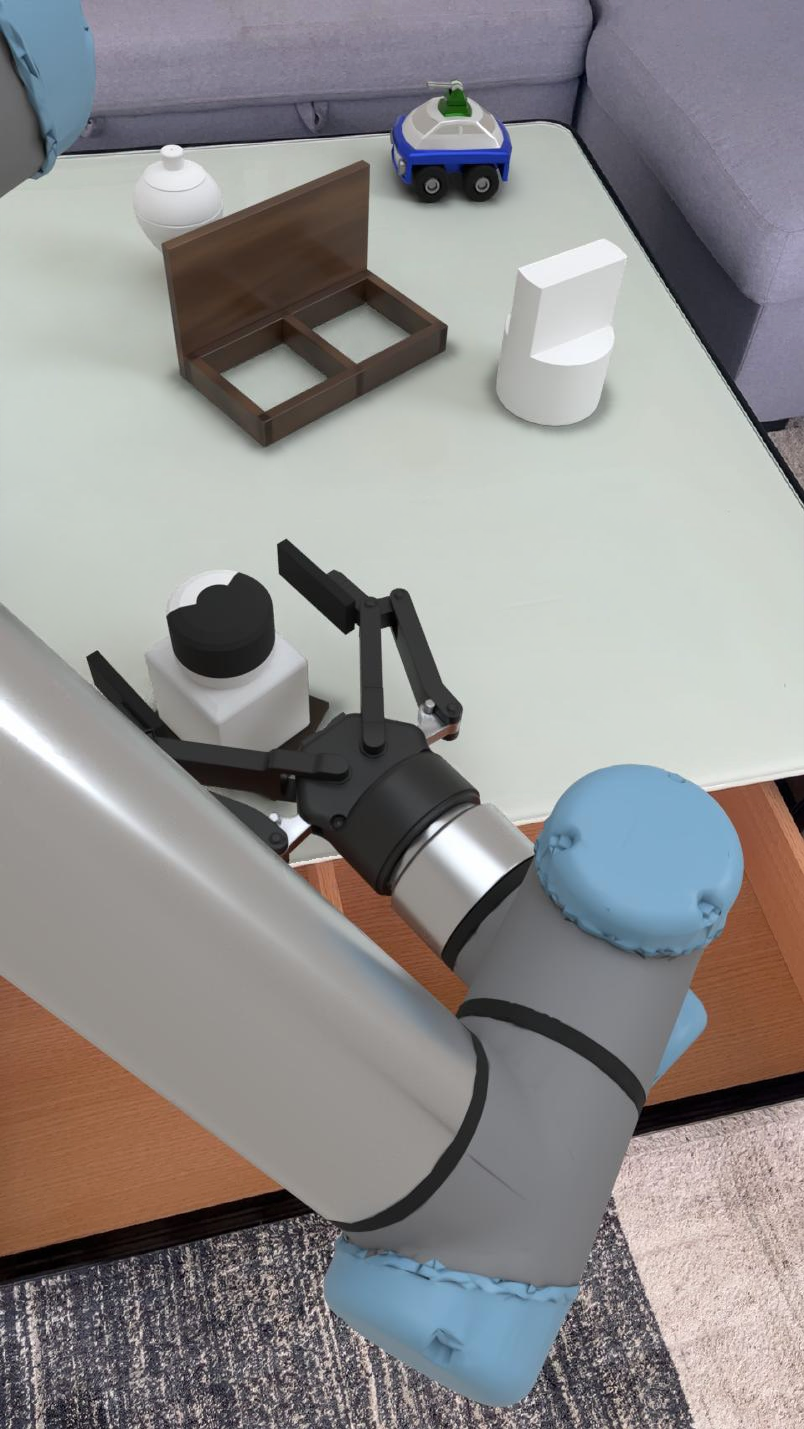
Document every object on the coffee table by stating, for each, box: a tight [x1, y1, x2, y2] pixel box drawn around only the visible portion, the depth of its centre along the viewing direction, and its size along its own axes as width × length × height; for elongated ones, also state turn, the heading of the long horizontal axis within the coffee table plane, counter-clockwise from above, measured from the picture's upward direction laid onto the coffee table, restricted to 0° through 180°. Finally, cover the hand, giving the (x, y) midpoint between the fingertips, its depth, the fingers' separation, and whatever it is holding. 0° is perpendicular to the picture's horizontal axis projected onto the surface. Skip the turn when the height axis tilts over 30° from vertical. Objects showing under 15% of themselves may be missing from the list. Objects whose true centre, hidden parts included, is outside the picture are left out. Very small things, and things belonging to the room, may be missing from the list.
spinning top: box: [132, 144, 224, 255], centre depth 93 cm, size 8×8×12 cm
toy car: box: [389, 78, 513, 203], centre depth 106 cm, size 9×12×10 cm
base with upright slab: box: [495, 237, 628, 427], centre depth 86 cm, size 9×9×12 cm
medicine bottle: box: [144, 569, 310, 752], centre depth 65 cm, size 7×7×12 cm
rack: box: [161, 159, 449, 448], centre depth 87 cm, size 12×20×12 cm, turn 132°
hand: (192, 609), depth 64 cm, fingers open, 13 cm apart
